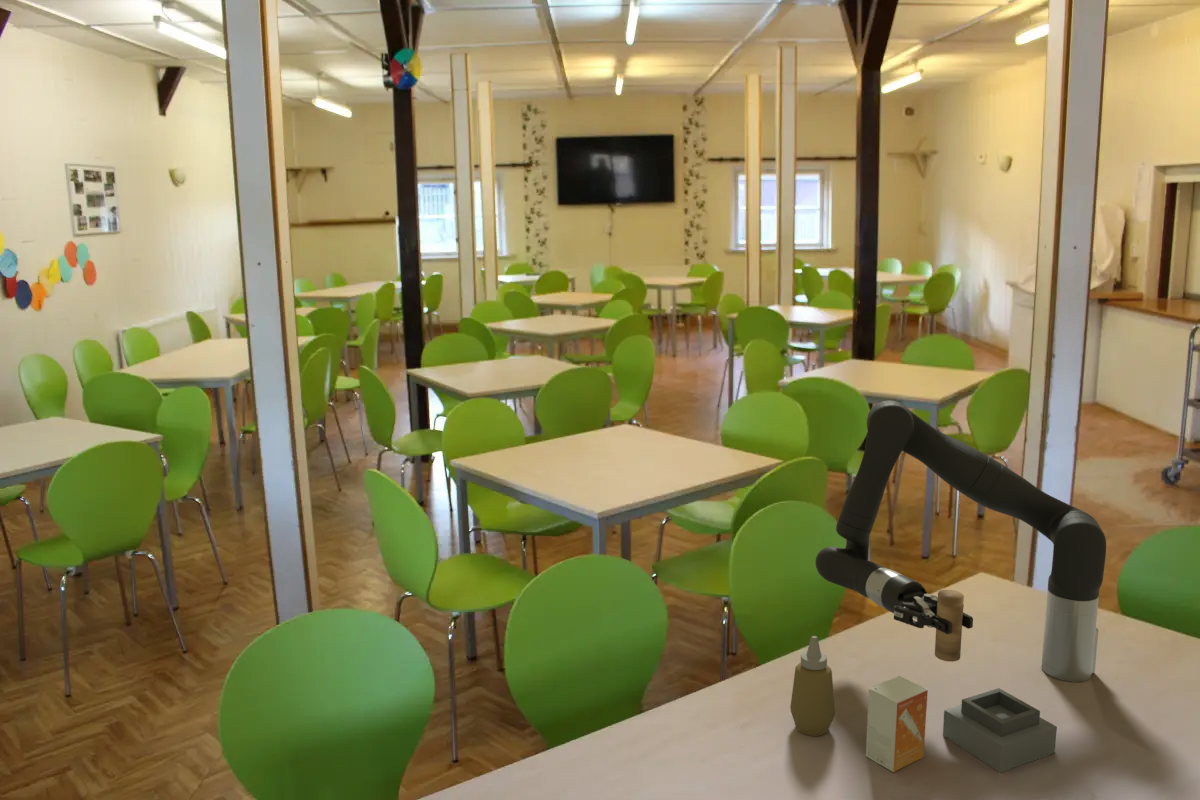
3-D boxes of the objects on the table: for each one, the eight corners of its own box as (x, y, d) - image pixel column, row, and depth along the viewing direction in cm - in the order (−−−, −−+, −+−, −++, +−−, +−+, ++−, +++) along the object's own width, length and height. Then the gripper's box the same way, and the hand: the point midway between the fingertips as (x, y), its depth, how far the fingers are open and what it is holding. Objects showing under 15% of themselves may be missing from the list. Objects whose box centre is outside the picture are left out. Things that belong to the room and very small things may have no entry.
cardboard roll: (947, 648, 178) (950, 588, 176) (965, 658, 174) (969, 596, 172) (929, 653, 176) (932, 592, 174) (947, 663, 173) (950, 601, 170)
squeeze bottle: (836, 720, 178) (839, 630, 175) (832, 743, 171) (835, 650, 167) (793, 713, 181) (794, 625, 177) (786, 736, 174) (788, 644, 170)
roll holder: (995, 717, 178) (998, 680, 177) (1054, 752, 167) (1058, 713, 165) (942, 735, 173) (945, 697, 171) (1000, 772, 161) (1002, 732, 160)
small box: (893, 773, 162) (897, 703, 159) (864, 756, 167) (867, 687, 164) (925, 757, 166) (928, 689, 163) (895, 741, 171) (898, 674, 169)
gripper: (866, 581, 183) (931, 614, 168) (924, 567, 189) (992, 599, 174) (865, 617, 185) (929, 654, 169) (922, 603, 190) (989, 637, 175)
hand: (960, 626), depth 172 cm, fingers closed on cardboard roll, 4 cm apart
